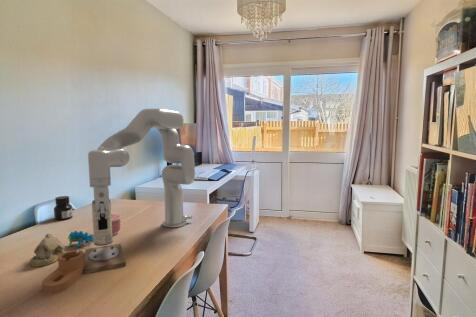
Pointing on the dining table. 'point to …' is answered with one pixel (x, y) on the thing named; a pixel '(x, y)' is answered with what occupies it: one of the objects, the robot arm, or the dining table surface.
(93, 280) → the dining table surface
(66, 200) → the ink bottle
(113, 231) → the container
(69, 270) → the bracket
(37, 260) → the ceramic model
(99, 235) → the aerosol can
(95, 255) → the flange board
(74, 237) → the gear
